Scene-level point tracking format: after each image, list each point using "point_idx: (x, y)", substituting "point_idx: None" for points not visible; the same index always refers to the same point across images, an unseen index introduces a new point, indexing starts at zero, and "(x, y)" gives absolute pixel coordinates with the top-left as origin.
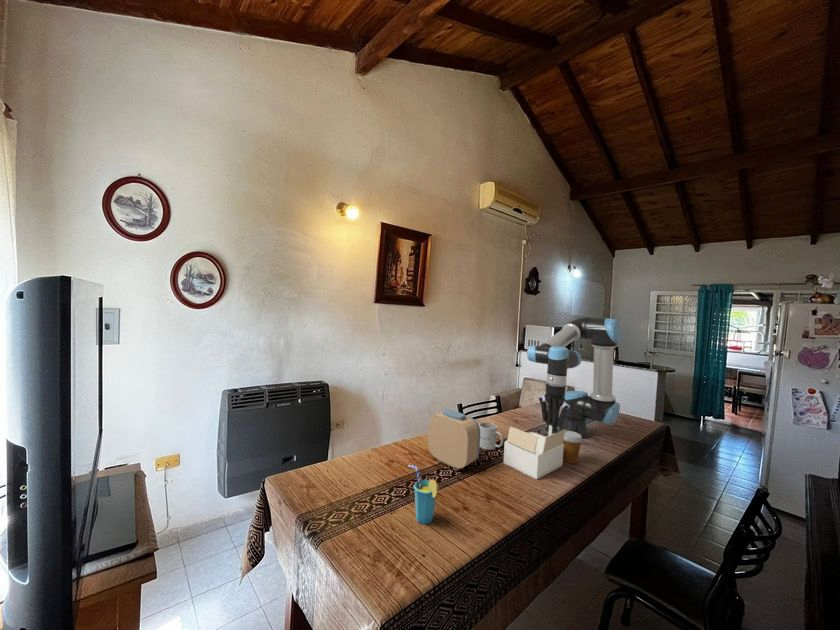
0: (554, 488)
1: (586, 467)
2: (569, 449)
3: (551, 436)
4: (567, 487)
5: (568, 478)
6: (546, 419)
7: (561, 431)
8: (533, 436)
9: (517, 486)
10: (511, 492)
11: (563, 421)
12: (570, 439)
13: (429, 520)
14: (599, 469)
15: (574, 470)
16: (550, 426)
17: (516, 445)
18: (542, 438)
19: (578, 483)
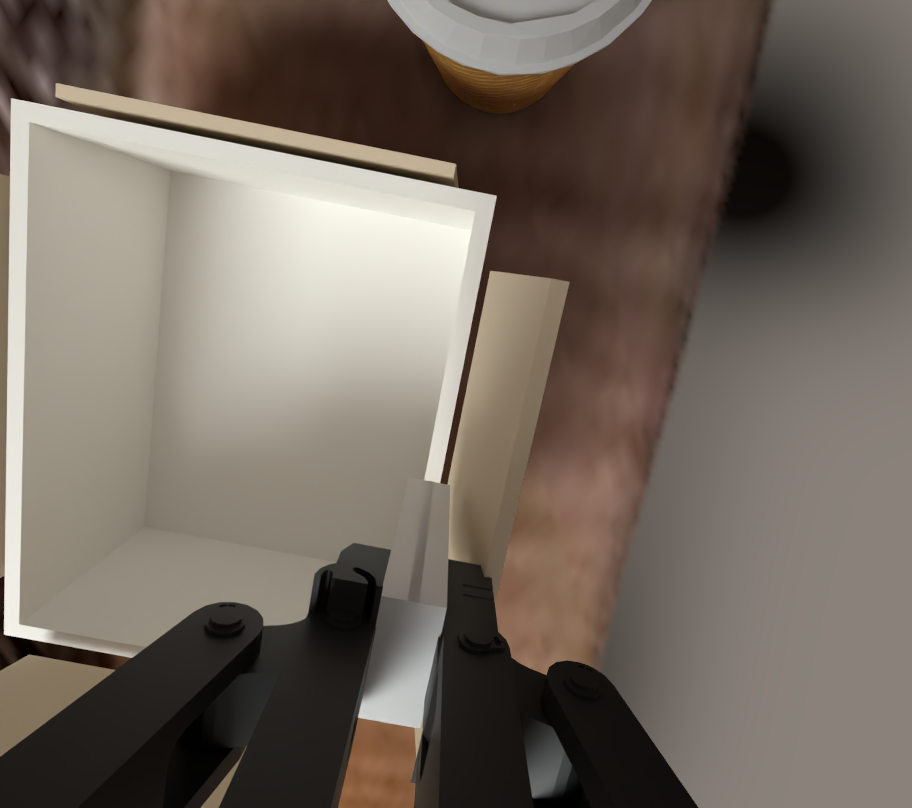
0: (544, 601)
1: (662, 73)
2: (531, 84)
3: None
4: (609, 531)
5: (583, 401)
6: (238, 743)
7: (530, 438)
8: None
9: (363, 729)
10: (368, 802)
11: (666, 767)
12: (558, 52)
13: None
14: (768, 17)
15: (589, 225)
16: (389, 711)
17: (83, 424)
18: (214, 162)
19: (659, 422)
